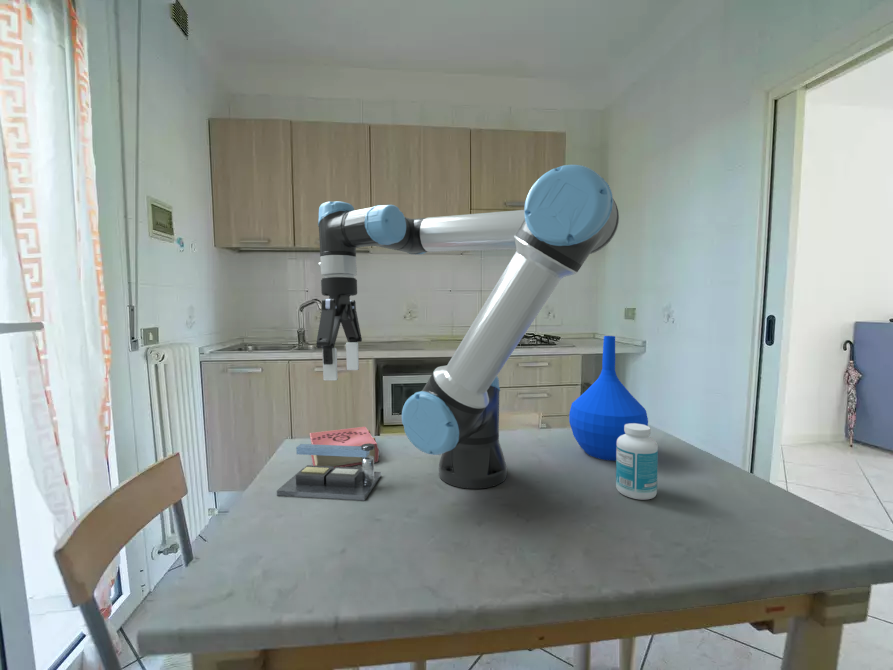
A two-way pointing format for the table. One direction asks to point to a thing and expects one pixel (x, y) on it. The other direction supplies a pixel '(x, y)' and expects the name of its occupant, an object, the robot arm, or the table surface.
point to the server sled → (333, 482)
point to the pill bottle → (636, 462)
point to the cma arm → (335, 450)
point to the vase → (604, 410)
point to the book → (343, 439)
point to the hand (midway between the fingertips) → (342, 374)
